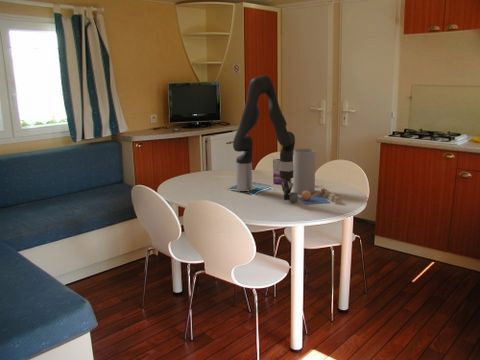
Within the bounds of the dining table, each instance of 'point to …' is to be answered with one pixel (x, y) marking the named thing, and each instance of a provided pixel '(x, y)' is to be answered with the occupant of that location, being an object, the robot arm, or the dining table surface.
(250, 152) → the robot arm
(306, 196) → the object ball
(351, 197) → the dining table surface
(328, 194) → the stopper
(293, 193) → the grey ball
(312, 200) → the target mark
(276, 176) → the candy bar box
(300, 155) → the cylinder vase
